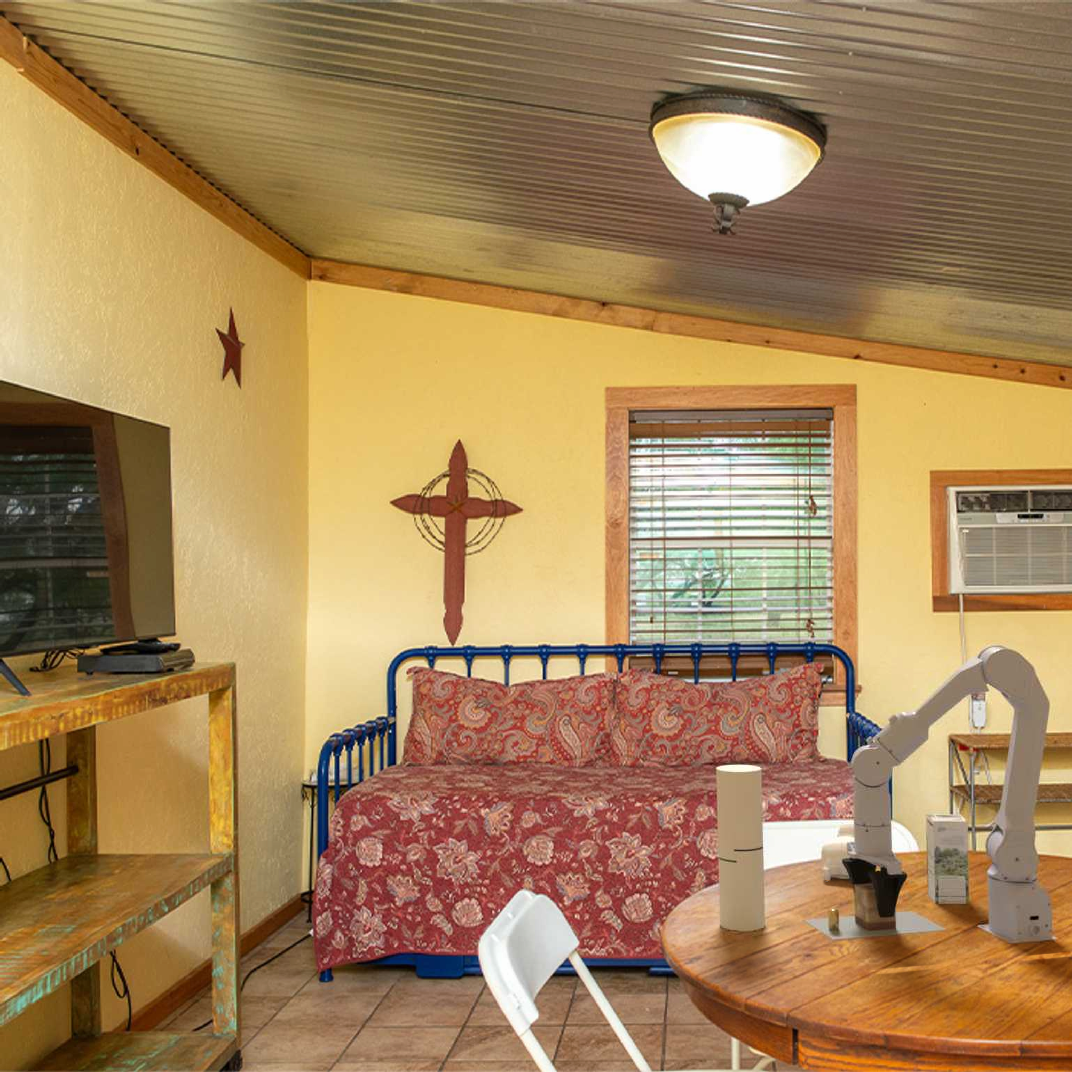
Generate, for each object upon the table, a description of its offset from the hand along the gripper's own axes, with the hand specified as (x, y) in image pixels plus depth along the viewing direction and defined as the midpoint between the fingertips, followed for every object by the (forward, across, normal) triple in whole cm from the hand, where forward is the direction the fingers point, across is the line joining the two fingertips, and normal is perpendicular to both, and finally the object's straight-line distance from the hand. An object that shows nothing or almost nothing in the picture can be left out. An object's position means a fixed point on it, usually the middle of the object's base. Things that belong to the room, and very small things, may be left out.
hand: (874, 910), depth 194 cm
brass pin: (+3, 0, -7) cm, 8 cm away
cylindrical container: (+3, -8, -19) cm, 21 cm away
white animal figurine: (+3, -33, +12) cm, 35 cm away
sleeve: (+2, 0, 0) cm, 2 cm away
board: (+3, 0, 0) cm, 3 cm away
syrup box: (+3, -11, +19) cm, 22 cm away
